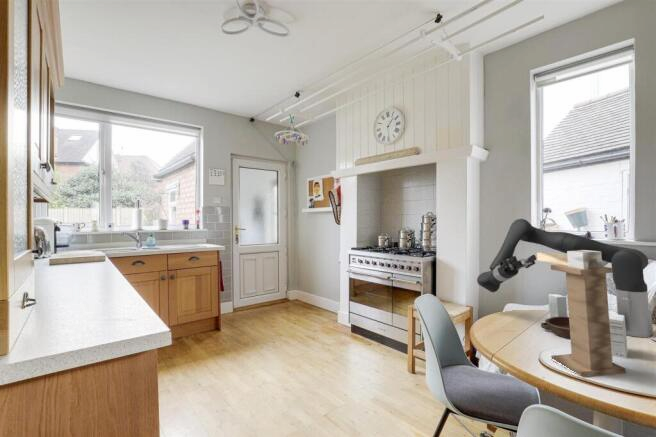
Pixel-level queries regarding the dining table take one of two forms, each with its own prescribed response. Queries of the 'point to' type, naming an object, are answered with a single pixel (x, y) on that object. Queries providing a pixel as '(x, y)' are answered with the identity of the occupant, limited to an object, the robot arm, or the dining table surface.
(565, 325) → the dish
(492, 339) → the dining table surface
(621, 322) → the supplement box
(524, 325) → the dining table surface
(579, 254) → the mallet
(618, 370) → the wooden i-beam column
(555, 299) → the skincare box
